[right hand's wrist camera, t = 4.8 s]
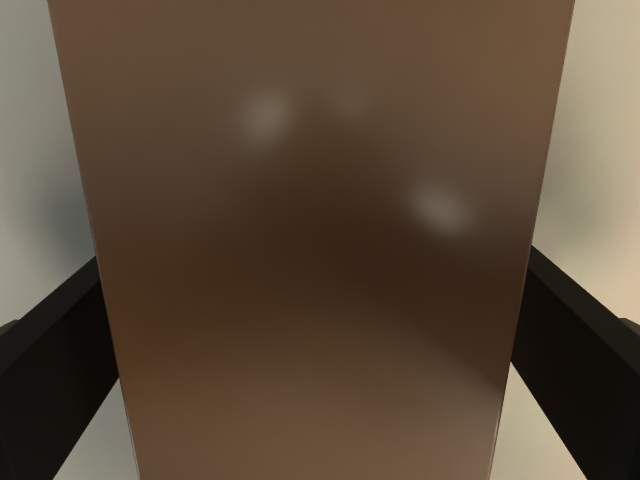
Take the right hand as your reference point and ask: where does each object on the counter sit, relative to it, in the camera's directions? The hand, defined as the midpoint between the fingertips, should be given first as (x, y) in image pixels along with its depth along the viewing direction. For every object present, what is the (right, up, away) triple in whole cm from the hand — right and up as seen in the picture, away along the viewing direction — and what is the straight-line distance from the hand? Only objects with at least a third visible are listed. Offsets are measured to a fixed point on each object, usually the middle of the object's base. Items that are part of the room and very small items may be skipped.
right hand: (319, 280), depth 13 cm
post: (0, +26, -8) cm, 27 cm away
